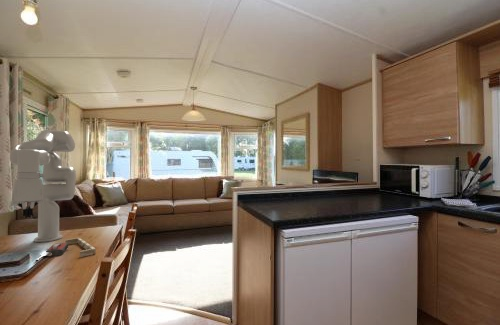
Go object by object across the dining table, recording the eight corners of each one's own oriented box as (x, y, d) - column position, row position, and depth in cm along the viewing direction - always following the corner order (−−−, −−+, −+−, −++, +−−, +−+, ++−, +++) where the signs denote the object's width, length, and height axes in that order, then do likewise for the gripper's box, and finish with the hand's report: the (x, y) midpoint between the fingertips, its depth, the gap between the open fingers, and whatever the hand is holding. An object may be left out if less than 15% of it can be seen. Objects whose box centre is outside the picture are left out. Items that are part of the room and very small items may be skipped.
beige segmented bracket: (65, 244, 131) (65, 239, 131) (79, 242, 136) (79, 237, 136) (80, 257, 113) (80, 251, 113) (95, 253, 118) (95, 248, 118)
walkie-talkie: (48, 250, 124) (33, 264, 106) (48, 241, 124) (33, 254, 106) (69, 247, 128) (58, 261, 110) (69, 239, 128) (58, 251, 110)
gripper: (48, 175, 118) (47, 214, 118) (4, 176, 107) (3, 218, 107) (51, 176, 113) (50, 216, 113) (5, 177, 102) (4, 221, 102)
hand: (27, 217), depth 110 cm, fingers closed
